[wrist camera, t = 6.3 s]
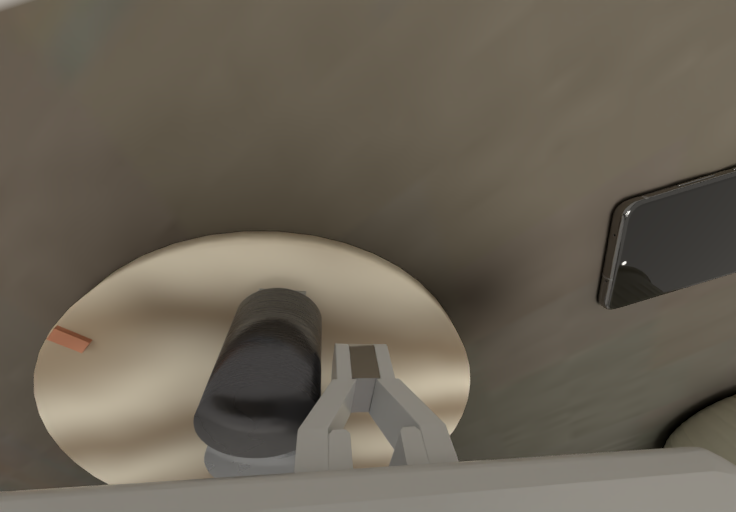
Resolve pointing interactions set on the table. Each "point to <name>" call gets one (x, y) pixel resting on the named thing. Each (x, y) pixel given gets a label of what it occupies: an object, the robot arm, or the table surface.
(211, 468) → the crank handle
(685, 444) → the canister
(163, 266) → the base
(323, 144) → the table surface
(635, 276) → the smartphone
